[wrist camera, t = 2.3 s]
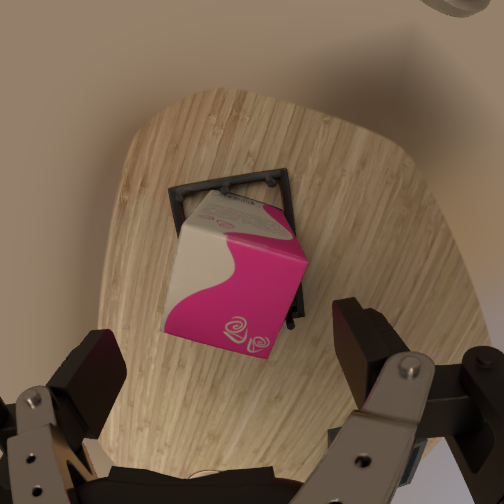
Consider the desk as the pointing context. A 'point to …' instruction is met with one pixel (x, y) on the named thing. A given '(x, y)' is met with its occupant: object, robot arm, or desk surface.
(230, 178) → the dish rack
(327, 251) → the desk surface
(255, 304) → the supplement box
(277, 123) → the desk surface
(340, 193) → the desk surface
